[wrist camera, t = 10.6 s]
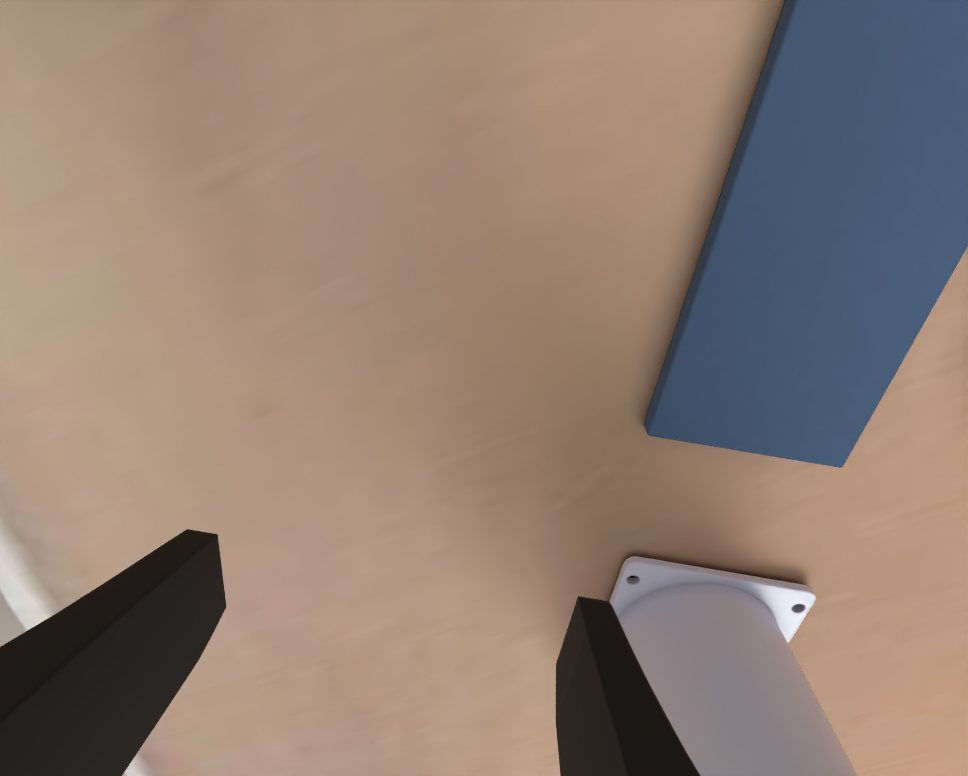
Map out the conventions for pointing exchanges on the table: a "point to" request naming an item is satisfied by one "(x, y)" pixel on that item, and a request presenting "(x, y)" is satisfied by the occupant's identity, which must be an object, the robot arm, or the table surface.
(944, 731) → the table surface
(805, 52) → the blue flat rectangular slab
